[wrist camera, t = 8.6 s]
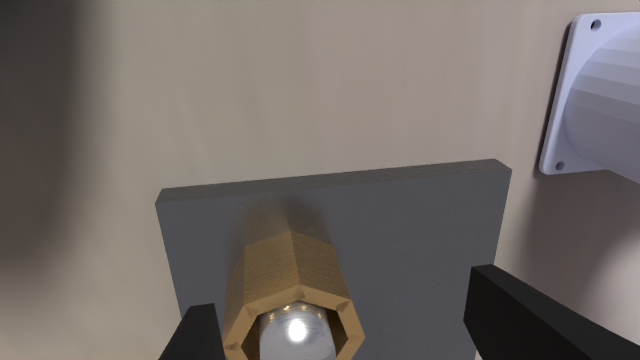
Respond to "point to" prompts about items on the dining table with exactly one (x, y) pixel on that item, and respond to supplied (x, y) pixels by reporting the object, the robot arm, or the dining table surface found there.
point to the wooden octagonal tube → (287, 292)
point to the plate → (349, 251)
